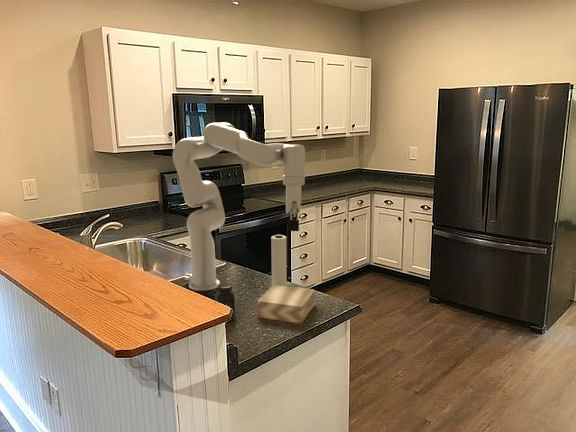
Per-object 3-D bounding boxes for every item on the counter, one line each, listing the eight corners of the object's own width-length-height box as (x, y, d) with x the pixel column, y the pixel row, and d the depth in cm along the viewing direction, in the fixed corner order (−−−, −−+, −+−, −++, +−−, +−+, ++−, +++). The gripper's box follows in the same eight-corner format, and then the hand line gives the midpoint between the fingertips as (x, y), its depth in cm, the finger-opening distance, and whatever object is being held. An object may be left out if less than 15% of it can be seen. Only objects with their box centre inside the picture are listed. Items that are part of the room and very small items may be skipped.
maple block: (257, 317, 161) (257, 300, 159) (273, 299, 175) (273, 284, 174) (301, 323, 156) (301, 306, 154) (314, 305, 171) (314, 289, 169)
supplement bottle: (236, 313, 164) (235, 281, 161) (235, 322, 157) (234, 288, 154) (217, 314, 163) (216, 281, 161) (215, 322, 157) (213, 289, 154)
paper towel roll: (281, 291, 184) (281, 239, 179) (268, 288, 187) (268, 237, 182) (290, 285, 190) (290, 235, 185) (278, 283, 193) (277, 233, 188)
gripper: (282, 176, 171) (283, 221, 175) (283, 184, 154) (283, 233, 158) (303, 176, 171) (302, 221, 175) (306, 183, 154) (305, 233, 158)
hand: (293, 227), depth 166 cm, fingers open, 9 cm apart
